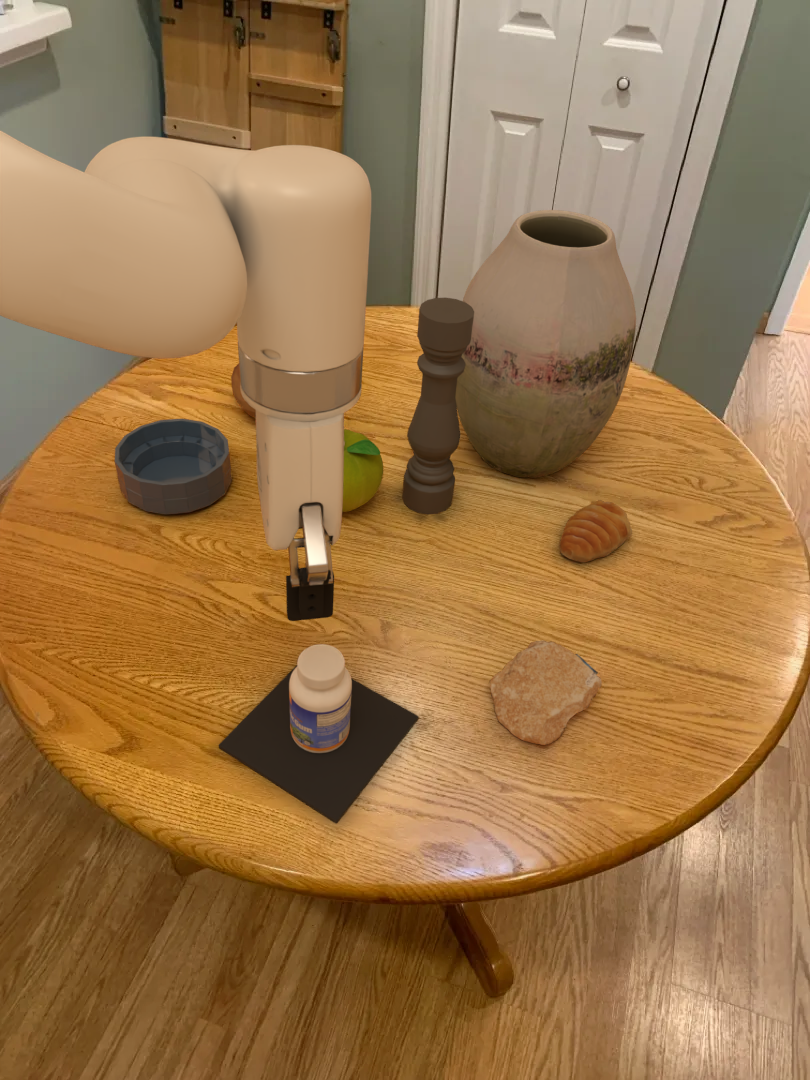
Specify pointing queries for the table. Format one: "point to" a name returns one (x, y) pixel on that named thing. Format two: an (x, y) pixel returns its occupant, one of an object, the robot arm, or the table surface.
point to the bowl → (173, 466)
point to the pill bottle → (320, 699)
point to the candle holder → (437, 404)
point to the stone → (542, 691)
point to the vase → (545, 343)
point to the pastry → (595, 531)
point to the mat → (320, 775)
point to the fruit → (360, 470)
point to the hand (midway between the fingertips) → (301, 569)
